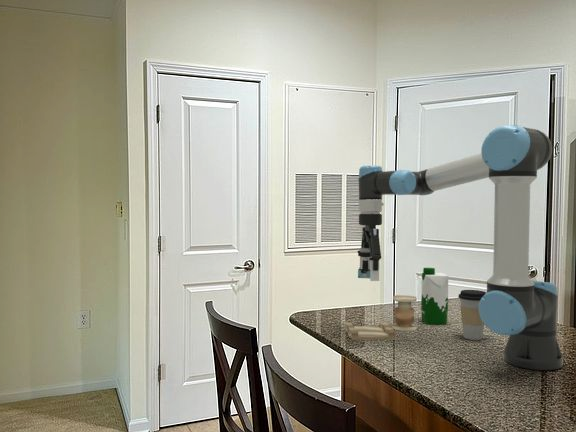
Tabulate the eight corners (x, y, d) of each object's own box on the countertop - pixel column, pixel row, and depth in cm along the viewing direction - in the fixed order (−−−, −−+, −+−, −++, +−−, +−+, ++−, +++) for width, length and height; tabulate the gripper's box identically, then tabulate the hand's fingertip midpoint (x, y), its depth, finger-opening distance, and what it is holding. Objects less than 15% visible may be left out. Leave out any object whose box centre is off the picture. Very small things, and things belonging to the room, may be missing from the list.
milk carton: (419, 320, 203) (419, 266, 202) (443, 320, 203) (444, 266, 202) (424, 326, 194) (425, 269, 193) (450, 326, 194) (451, 270, 193)
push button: (376, 276, 188) (377, 247, 186) (376, 280, 182) (377, 250, 181) (357, 275, 189) (357, 246, 187) (356, 279, 183) (357, 249, 182)
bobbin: (420, 331, 186) (421, 299, 186) (394, 331, 186) (395, 299, 185) (413, 325, 195) (413, 294, 195) (388, 325, 195) (388, 294, 194)
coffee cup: (490, 342, 173) (491, 294, 173) (459, 340, 175) (459, 293, 175) (485, 334, 183) (486, 289, 182) (456, 333, 184) (456, 288, 184)
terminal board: (395, 340, 175) (395, 331, 175) (351, 340, 174) (351, 332, 174) (384, 329, 189) (385, 321, 189) (344, 329, 188) (344, 322, 188)
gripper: (391, 213, 168) (391, 283, 169) (373, 212, 193) (373, 272, 194) (366, 214, 168) (366, 283, 168) (352, 212, 192) (352, 272, 193)
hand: (370, 277), depth 181 cm, fingers open, 13 cm apart
